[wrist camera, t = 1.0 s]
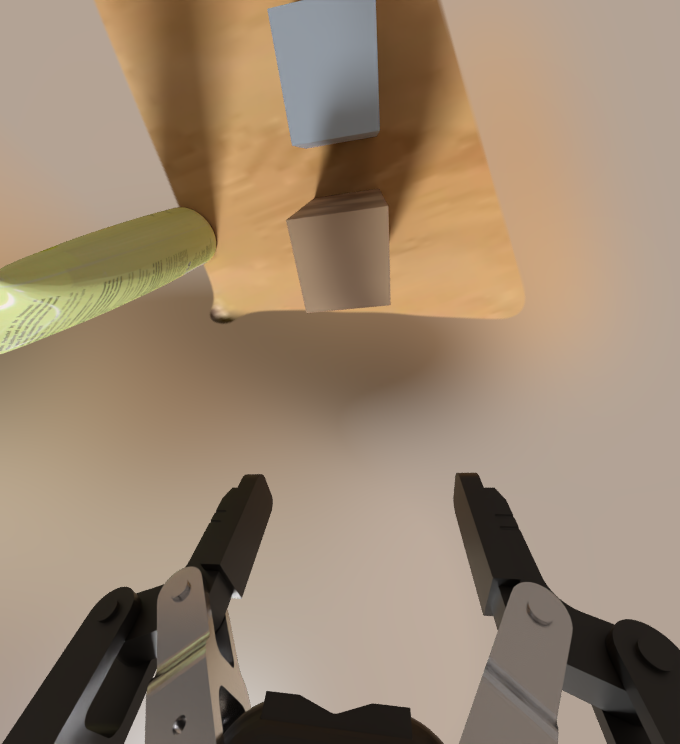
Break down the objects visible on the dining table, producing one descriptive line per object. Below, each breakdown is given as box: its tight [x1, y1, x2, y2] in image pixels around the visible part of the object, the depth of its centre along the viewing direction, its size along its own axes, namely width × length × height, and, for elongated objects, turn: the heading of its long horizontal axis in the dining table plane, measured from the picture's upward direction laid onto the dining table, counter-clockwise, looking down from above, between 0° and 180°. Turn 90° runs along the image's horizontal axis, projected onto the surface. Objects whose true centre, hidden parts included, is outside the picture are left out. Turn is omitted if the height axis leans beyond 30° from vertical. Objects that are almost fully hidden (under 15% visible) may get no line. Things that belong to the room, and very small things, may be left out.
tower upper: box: [286, 195, 390, 313], centre depth 19 cm, size 6×6×6 cm
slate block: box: [268, 0, 380, 148], centre depth 18 cm, size 6×6×6 cm
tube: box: [0, 207, 216, 354], centre depth 18 cm, size 6×5×20 cm
